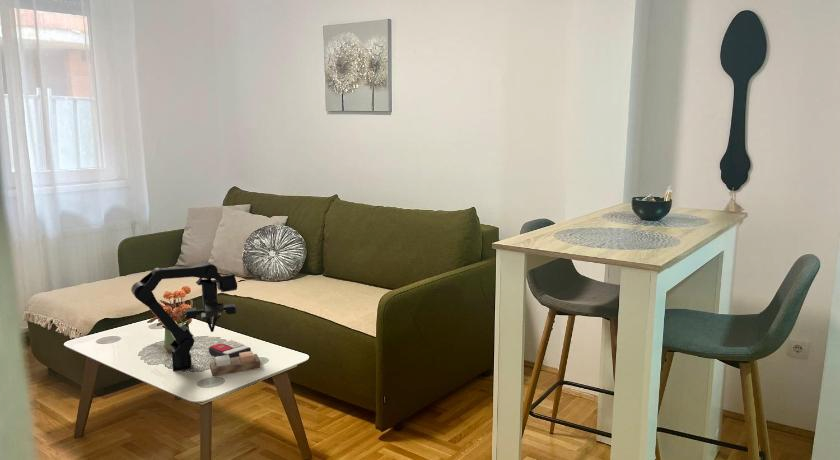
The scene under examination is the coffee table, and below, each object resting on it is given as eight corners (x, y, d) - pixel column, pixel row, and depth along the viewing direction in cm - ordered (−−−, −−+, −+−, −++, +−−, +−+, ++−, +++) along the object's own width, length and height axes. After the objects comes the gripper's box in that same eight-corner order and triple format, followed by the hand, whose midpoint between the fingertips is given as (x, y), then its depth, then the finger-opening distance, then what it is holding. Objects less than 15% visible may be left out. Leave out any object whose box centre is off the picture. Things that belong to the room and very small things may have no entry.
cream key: (217, 371, 236) (216, 361, 235) (215, 366, 240) (215, 356, 240) (230, 369, 238) (230, 359, 237) (229, 364, 242) (228, 354, 242)
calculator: (232, 338, 264) (250, 345, 253) (233, 348, 264) (251, 356, 254) (207, 345, 256) (226, 353, 245) (209, 355, 256) (227, 363, 246)
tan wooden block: (241, 367, 239) (240, 357, 239) (239, 362, 244) (238, 353, 243) (254, 365, 242) (254, 355, 241) (252, 360, 246) (251, 351, 245)
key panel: (212, 376, 234) (211, 369, 233) (210, 368, 241) (209, 361, 240) (260, 368, 241) (260, 360, 241) (257, 360, 248) (256, 353, 248)
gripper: (185, 302, 234) (188, 341, 237) (236, 297, 241) (238, 335, 244) (184, 294, 244) (186, 332, 247) (233, 289, 251) (235, 326, 254)
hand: (212, 331), depth 248 cm, fingers closed
